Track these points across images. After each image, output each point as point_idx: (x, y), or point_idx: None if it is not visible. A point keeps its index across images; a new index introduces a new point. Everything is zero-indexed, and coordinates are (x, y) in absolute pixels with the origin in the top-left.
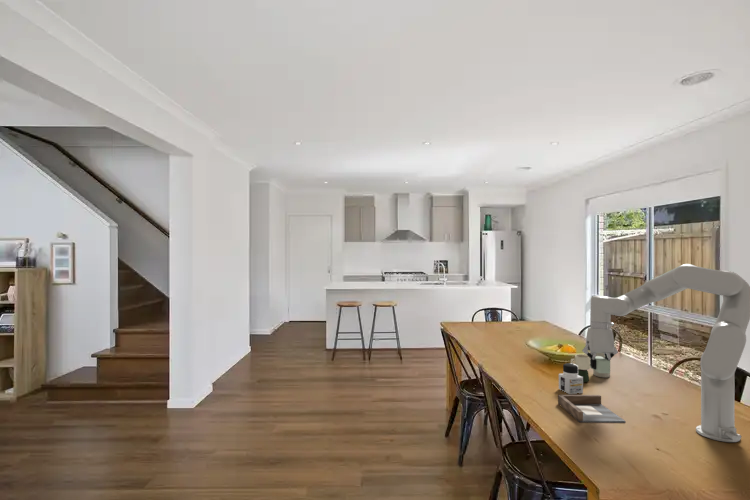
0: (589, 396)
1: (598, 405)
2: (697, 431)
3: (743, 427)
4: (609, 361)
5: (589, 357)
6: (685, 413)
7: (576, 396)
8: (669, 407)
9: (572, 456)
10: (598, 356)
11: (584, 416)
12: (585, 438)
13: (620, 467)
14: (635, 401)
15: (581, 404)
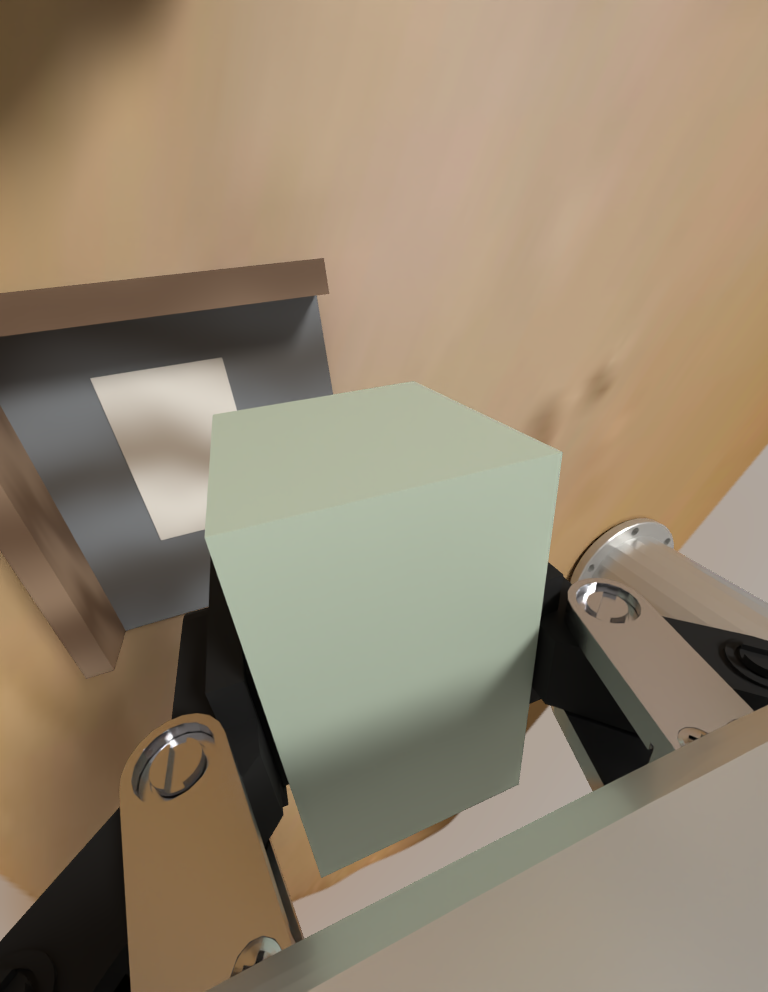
0: (221, 307)
1: (286, 332)
2: (574, 578)
3: (741, 475)
4: (501, 786)
5: (135, 763)
6: (685, 361)
7: (85, 324)
8: (685, 274)
9: None
10: (480, 503)
11: (143, 567)
12: (119, 776)
13: None
14: (584, 161)
15: (149, 331)
